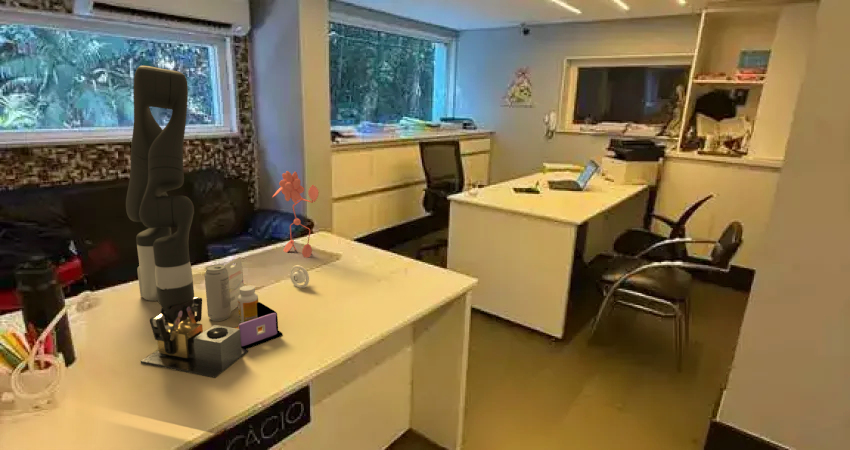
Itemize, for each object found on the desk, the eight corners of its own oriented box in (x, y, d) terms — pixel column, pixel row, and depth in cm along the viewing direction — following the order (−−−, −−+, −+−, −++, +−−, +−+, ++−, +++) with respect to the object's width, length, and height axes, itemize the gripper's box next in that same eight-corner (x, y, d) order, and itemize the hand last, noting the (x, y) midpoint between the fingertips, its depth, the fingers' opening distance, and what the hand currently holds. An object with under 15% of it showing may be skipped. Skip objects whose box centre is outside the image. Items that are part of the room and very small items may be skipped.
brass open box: (158, 352, 109) (156, 329, 107) (176, 341, 114) (174, 319, 112) (187, 358, 107) (184, 334, 105) (204, 346, 112) (202, 324, 111)
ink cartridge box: (230, 300, 142) (227, 254, 139) (245, 301, 141) (242, 256, 138) (213, 311, 134) (209, 263, 131) (229, 313, 133) (225, 265, 130)
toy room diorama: (284, 336, 122) (283, 312, 120) (240, 352, 113) (239, 326, 111) (261, 321, 130) (260, 298, 128) (219, 335, 121) (217, 311, 119)
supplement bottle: (263, 317, 131) (261, 286, 129) (250, 325, 126) (248, 292, 124) (247, 314, 133) (245, 283, 130) (234, 322, 128) (232, 289, 126)
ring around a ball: (286, 287, 154) (286, 264, 152) (298, 282, 159) (298, 260, 157) (305, 292, 150) (304, 269, 148) (316, 286, 155) (316, 264, 153)
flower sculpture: (284, 248, 195) (281, 166, 187) (329, 260, 182) (327, 172, 173) (254, 257, 183) (249, 169, 174) (299, 271, 169) (296, 176, 161)
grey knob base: (140, 363, 106) (136, 332, 104) (179, 339, 118) (177, 311, 116) (214, 378, 102) (212, 346, 100) (248, 351, 113) (246, 323, 111)
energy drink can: (214, 312, 134) (210, 263, 130) (234, 313, 133) (231, 264, 130) (204, 321, 128) (199, 270, 124) (225, 322, 128) (221, 271, 124)
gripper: (184, 269, 114) (189, 331, 118) (135, 290, 100) (143, 359, 104) (209, 272, 112) (215, 335, 116) (163, 294, 98) (171, 365, 103)
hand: (181, 346), depth 110 cm, fingers closed on brass open box, 5 cm apart
